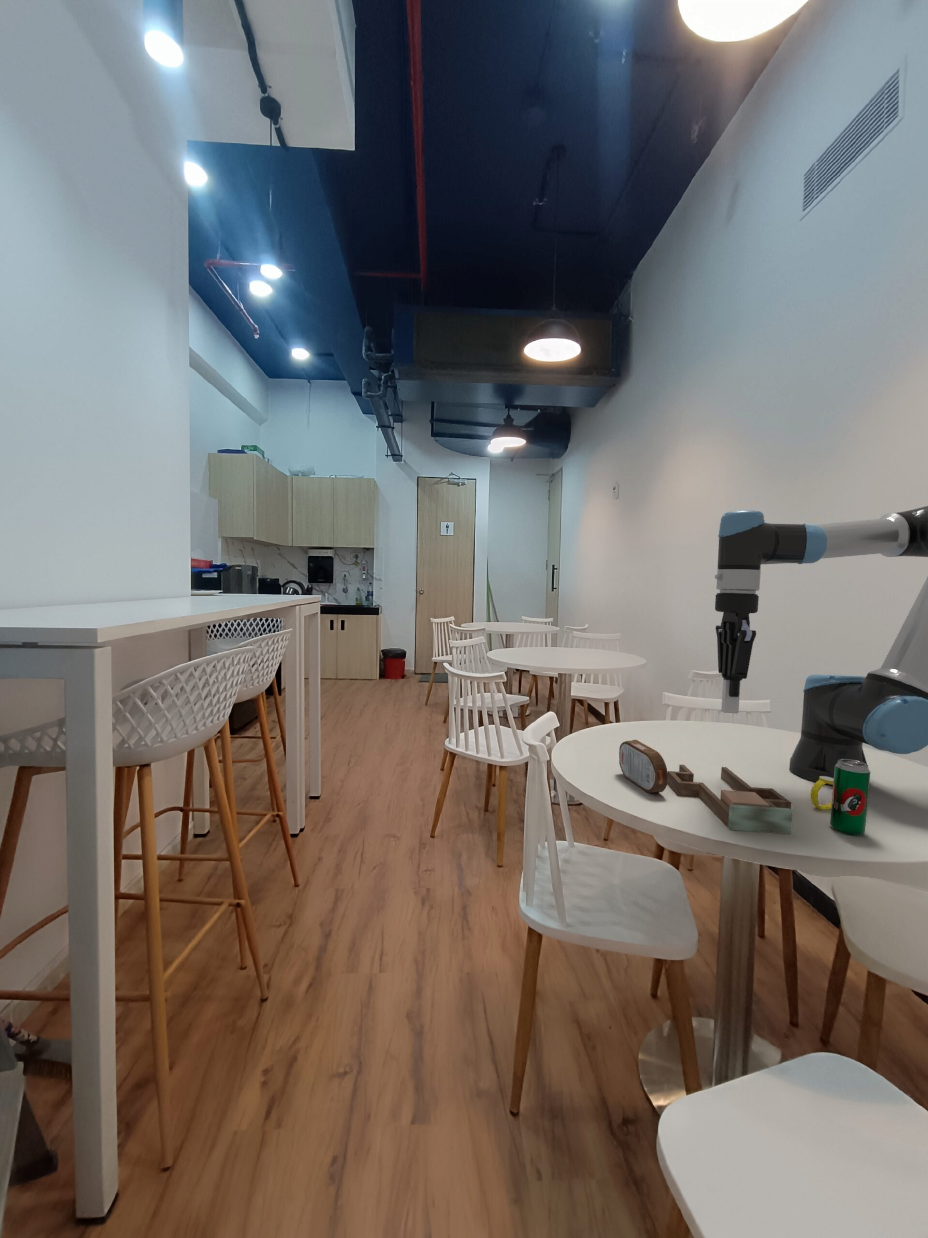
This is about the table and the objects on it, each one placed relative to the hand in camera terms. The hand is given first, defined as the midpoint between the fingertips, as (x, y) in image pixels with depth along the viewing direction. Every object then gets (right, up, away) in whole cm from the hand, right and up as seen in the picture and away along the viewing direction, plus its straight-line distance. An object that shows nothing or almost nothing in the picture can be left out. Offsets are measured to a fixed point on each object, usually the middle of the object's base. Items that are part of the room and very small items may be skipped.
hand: (729, 712), depth 109 cm
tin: (-16, -16, +6) cm, 23 cm away
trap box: (-1, -17, -2) cm, 17 cm away
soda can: (+14, -19, -13) cm, 27 cm away
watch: (+17, -18, -3) cm, 25 cm away
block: (-2, -18, -9) cm, 20 cm away
